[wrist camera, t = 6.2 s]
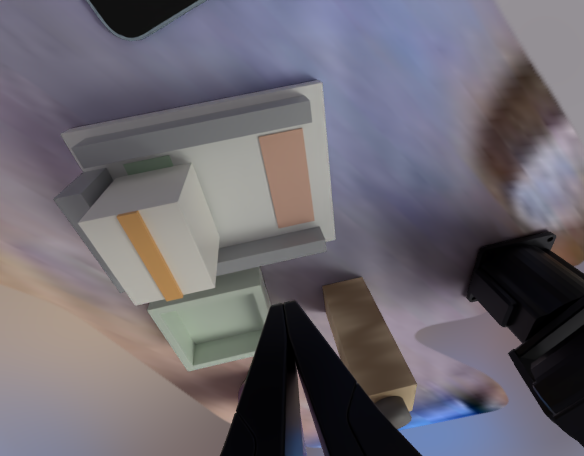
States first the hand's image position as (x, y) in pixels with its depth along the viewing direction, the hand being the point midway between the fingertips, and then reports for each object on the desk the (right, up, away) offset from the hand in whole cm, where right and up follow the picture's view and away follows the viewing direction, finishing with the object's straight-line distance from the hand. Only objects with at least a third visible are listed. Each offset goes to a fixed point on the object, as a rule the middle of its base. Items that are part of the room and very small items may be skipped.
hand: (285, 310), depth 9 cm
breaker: (-7, +4, +7) cm, 10 cm away
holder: (-5, -4, +14) cm, 15 cm away
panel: (-4, +5, +8) cm, 11 cm away
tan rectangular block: (+5, -3, +16) cm, 17 cm away
